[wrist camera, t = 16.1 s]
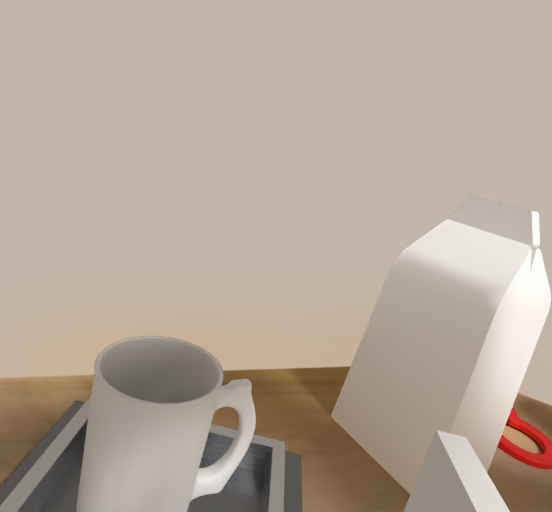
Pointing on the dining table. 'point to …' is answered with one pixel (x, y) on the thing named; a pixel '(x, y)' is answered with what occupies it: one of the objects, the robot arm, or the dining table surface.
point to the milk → (448, 338)
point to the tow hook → (546, 460)
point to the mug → (157, 427)
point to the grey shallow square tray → (208, 508)
